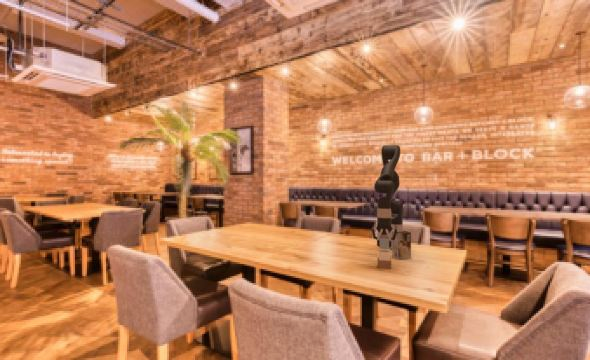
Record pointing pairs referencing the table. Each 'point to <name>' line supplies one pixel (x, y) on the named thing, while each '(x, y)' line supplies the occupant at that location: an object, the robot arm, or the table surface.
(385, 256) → the tower top
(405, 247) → the coffee box
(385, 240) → the slate block
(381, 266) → the tower base
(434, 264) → the table surface
